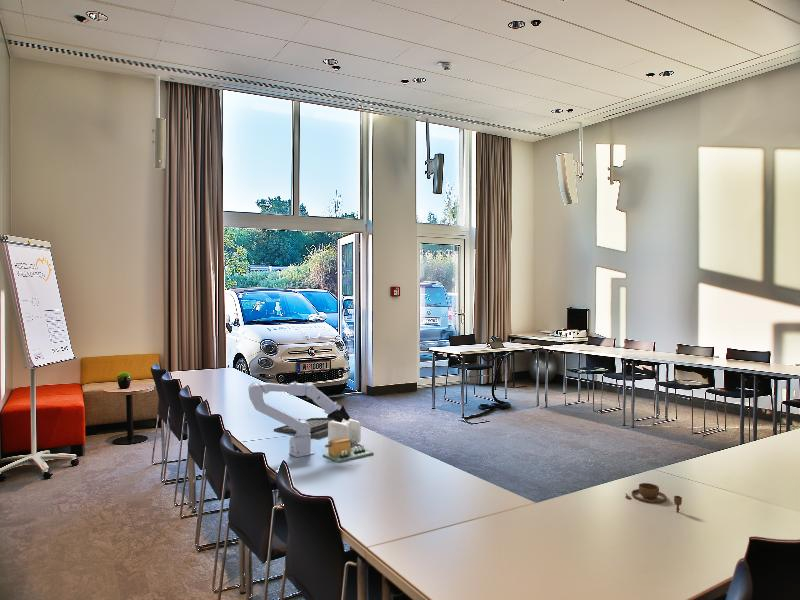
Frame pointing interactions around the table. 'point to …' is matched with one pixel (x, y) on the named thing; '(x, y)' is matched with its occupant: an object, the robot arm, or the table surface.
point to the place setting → (652, 494)
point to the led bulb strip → (359, 449)
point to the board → (351, 455)
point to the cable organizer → (345, 430)
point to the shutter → (312, 427)
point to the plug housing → (338, 446)
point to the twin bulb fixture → (344, 455)
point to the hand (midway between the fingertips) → (345, 420)
